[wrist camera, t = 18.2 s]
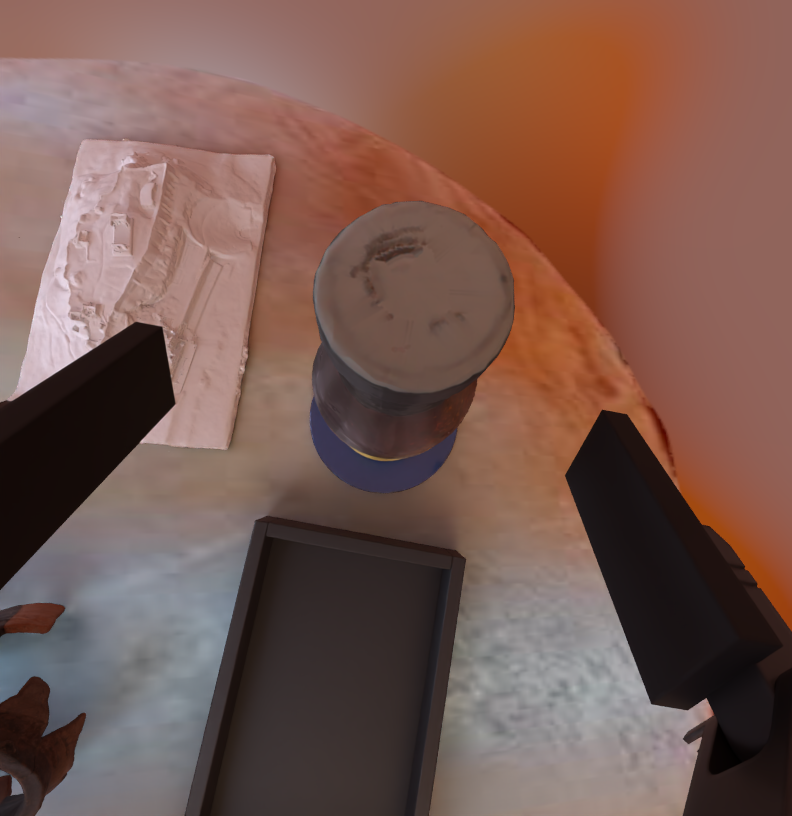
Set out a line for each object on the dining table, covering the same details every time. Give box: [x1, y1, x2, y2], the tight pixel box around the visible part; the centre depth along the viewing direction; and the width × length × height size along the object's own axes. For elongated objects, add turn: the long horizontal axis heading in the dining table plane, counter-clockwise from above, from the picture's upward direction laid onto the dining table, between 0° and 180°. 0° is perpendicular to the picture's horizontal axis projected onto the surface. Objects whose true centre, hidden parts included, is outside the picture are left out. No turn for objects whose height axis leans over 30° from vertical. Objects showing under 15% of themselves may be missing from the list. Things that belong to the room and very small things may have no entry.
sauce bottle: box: [312, 201, 515, 461], centre depth 18 cm, size 6×6×20 cm
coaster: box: [310, 397, 457, 493], centre depth 28 cm, size 10×10×1 cm
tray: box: [185, 516, 466, 816], centre depth 23 cm, size 13×21×3 cm, turn 169°
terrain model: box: [8, 138, 276, 450], centre depth 27 cm, size 17×23×5 cm
